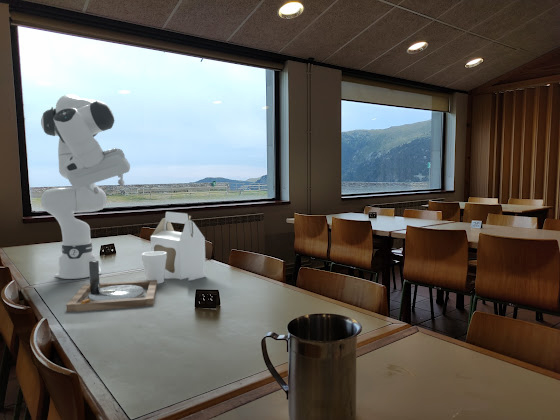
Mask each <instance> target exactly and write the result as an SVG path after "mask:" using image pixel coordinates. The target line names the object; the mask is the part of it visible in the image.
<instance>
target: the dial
mask: <svg viewBox="0 0 560 420" xmlns="http://www.w3.org/2000/svg"><path fill="white" fill-rule="evenodd" d="M99 266H100V262H99V260H95V261H90V262H89V273H90V277H89V284H90V293H89V294H88V295H87V299H90V301H101V300H115V299H129V298H143V297H144V295H145V293H144V290H145V288H142V287H140V286H135V285H116V286H109V287H103V288H100V274H99Z"/></svg>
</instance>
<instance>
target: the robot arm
mask: <svg viewBox="0 0 560 420" xmlns="http://www.w3.org/2000/svg"><path fill="white" fill-rule="evenodd" d="M40 119H41V120H40V125H41V127H42V130H43V132H44V133H45V134H46V135H47V136H48V135H49V136H52V137H55V136H57V137H59V138H58V148H57V152H58V153H57V156H58V172H59V175H60V176H61V177H63V178H65V179H67V180H68V181H69V184H70V185H71V186H72V187H55V188H49V189H46V190H45V191H43V193H42V195H41V196H40V197H41V198H40V203H41V207H42V209H44V210H45V212H47V213H48V214H50V215H52V216H53V217H54V218H55V220H56V221H57V222H58V224H59V227H60V230H61V236H62V244H61V253H62V255H61V256H59V258H58V272H57V273H55V274H54V278H60V279H63V280H64V279H65V280H72V279H73V280H74V279H78V280H79V279H85V278H90V273H89V262H90V261H96V256H95V254H94V252H93V243H92V242H91V239H92V238H91V228H90V225H89V224H88V223H87V222H86V221H83V220H81V219H78V218H76V217H75V213H93V212H98V211H100V210H101V211H102V210H103V209H104V208H105V207H106V205H107V203H108V197H107V194H106V193H105V191H104V190H103V188H101V187H99V185H97V184H96V183H100V182H102V181H105V180H108V179H111V178H114V177H118V178H120V179H118V180H117V183H118V185H119V186H120V187H122V186H124V185H125V181H124V179H123V177H124V175H125V174H127V173H129V172H130V169H131V165H130V162H129V161H128V159H127V158H126V157H125V153H124V152H123V150H122V149H121V148H116V147H113V148H111V149H107V150H103V149H102V147H101V145H100V143H99V142H98V141H97V139H96V138H94V137H95V136H97V135H98V134H99V133H102V132H105V131H107V130H108V131H109V130H111V129H112V128H113V126H114V124H115V117H114V113H113V112H112V110H111V108H110V107H109V106H108V105H107V104H106V103H105V102H103V101H101V100H95V99H91V98H80V97H79V96H78V95H75V94H70V93H69V94H68V93H67V94H64V95H62V96H61V97H59V99H58V100H57V102H56V104H55V108H54V106H51V108H50V109H47V110H45V111H44V112H43V113H42V116H41V118H40ZM99 275H102V269H101V266H100V265H99Z"/></svg>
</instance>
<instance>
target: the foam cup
mask: <svg viewBox="0 0 560 420" xmlns="http://www.w3.org/2000/svg"><path fill="white" fill-rule="evenodd" d="M141 258H142V259H141V260H142V265H143V271H144V275H145V281H146V280H150V281H151V280H157V285H158V284H162V283H164V282H165V278H164V274H165V265H166V259H167V252H164V251H152V252H151V251H146V252H145V251H144V252H142V253H141Z"/></svg>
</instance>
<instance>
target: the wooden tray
mask: <svg viewBox="0 0 560 420" xmlns="http://www.w3.org/2000/svg"><path fill="white" fill-rule="evenodd" d="M99 283H100V282H99ZM116 285H135V286H140V287H142V288H143V289H147V292H146V294H145V297H144V296H143V297H142V298H129V299H115V300H101V301H90V299H88V294H89V293H90V283H89V284H88V283H87V284H83V285H82V286H81V288H80V289H79V290H78V291H76V293H75V295H74V296H73V297H72V298H71V299H70V300H69V301H68V302H67V304H66V305H65V306H66V312H68V313H69V312H71V313H72V312H74V313H75V312H76V313H77V312H89V311H100V310H114V309H125V308H129V309H130V308H139V307H148V306H154V305H155V299H156V295H157V287H158V284H157V280H151V281H150V280H146V279H145V280H133V281H132V280H131V281H117V282H101V283H100V288H103V287H109V286H116Z"/></svg>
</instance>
